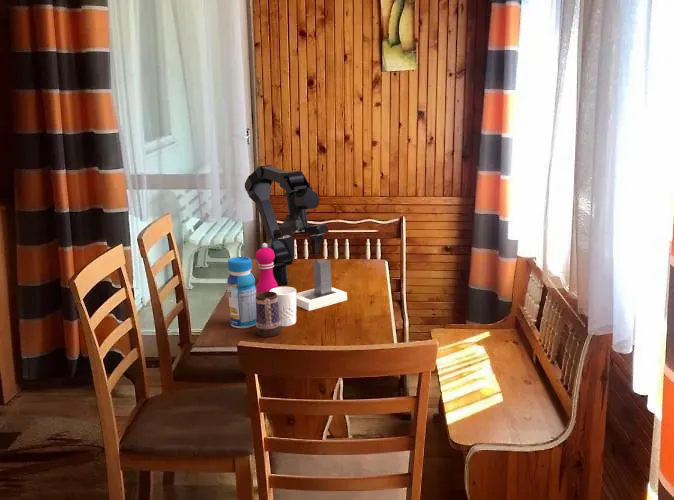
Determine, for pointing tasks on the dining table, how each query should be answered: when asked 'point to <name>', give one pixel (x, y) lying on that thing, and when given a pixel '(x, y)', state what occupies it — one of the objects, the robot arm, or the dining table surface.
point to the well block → (319, 299)
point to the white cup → (286, 304)
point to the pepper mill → (265, 269)
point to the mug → (267, 314)
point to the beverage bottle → (241, 293)
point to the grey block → (321, 279)
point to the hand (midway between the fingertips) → (303, 257)
